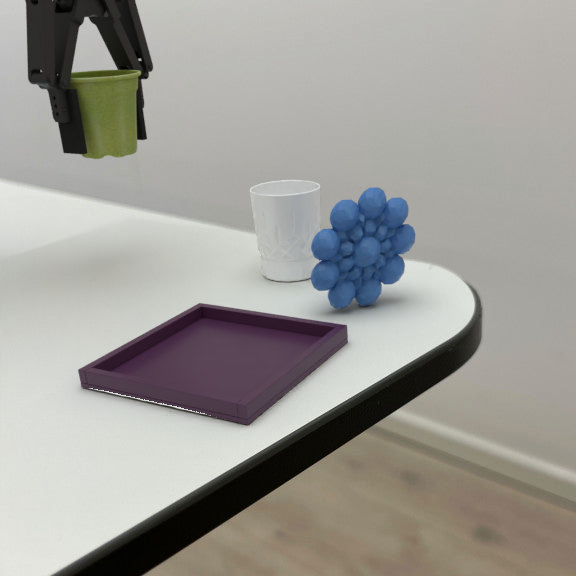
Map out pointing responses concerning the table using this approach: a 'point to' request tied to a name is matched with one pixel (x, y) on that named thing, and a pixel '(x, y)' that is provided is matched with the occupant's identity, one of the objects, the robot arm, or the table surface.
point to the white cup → (286, 227)
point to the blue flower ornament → (362, 248)
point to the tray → (217, 360)
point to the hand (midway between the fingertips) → (107, 145)
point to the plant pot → (107, 111)
